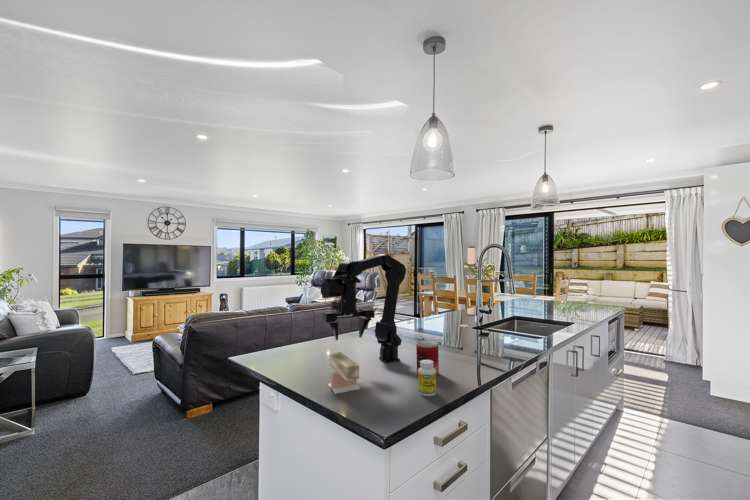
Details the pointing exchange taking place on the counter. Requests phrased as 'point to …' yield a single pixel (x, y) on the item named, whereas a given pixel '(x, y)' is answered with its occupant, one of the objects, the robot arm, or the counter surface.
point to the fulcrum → (341, 384)
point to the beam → (344, 366)
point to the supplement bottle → (427, 378)
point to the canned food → (428, 353)
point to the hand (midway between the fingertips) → (348, 338)
